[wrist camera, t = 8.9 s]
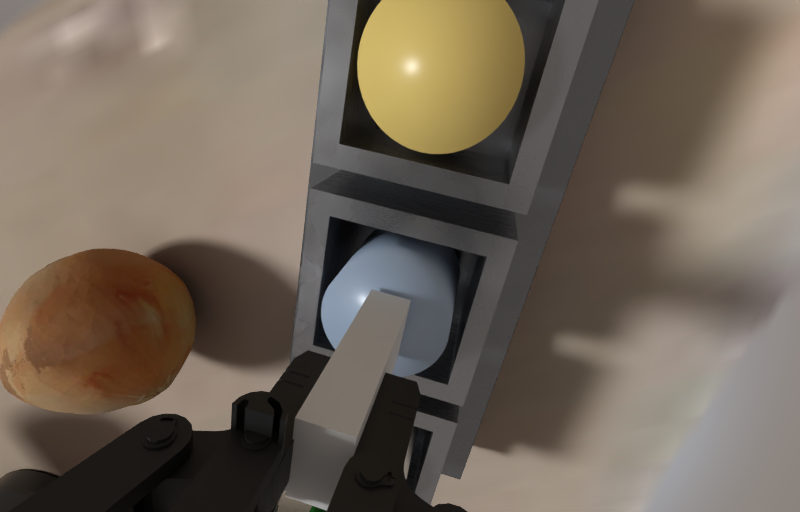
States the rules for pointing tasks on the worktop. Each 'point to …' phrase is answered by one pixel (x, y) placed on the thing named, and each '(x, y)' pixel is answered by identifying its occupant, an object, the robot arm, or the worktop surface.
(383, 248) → the slate button
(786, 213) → the worktop surface
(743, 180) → the worktop surface
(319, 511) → the milk carton
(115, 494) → the robot arm
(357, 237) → the grey frame
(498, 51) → the mustard button
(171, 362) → the onion
